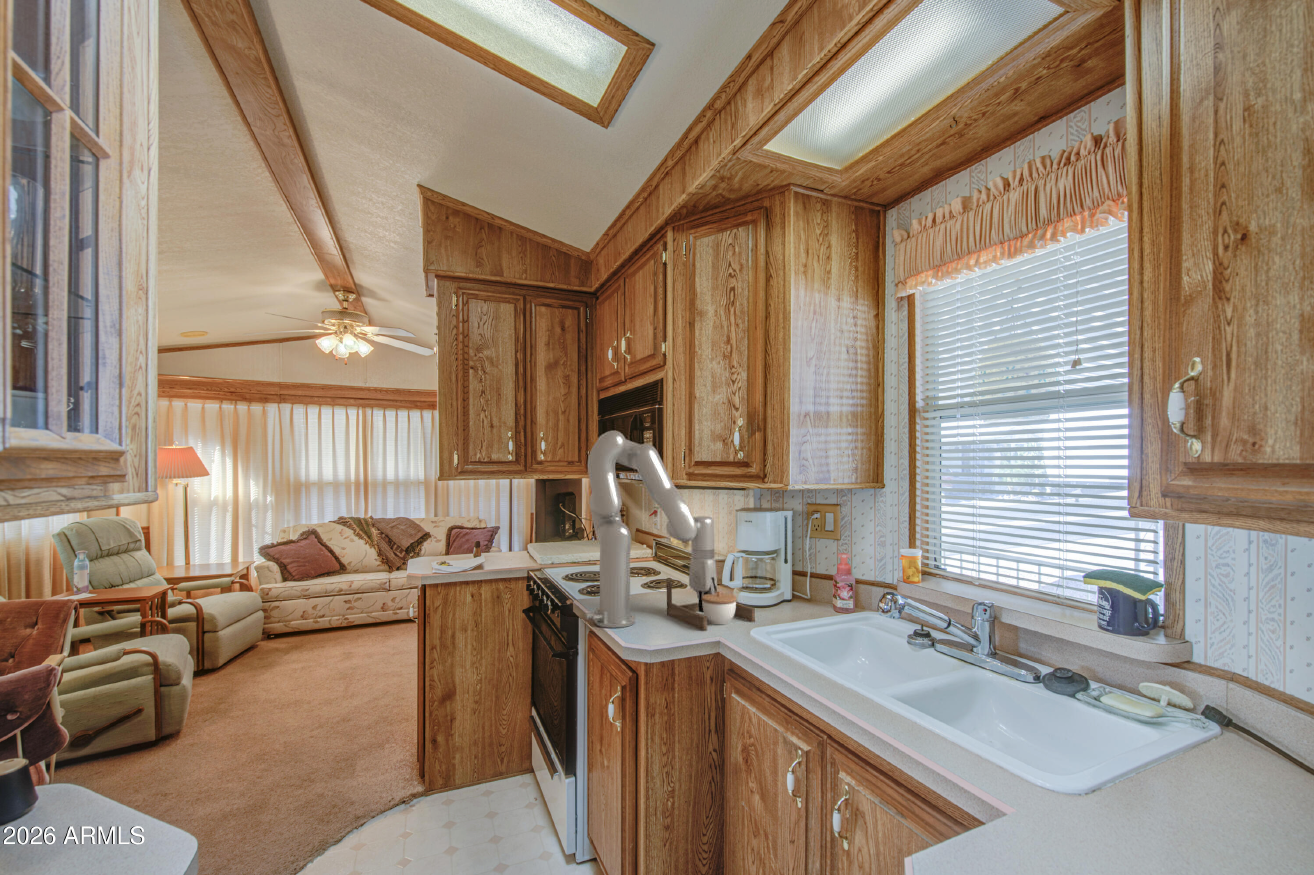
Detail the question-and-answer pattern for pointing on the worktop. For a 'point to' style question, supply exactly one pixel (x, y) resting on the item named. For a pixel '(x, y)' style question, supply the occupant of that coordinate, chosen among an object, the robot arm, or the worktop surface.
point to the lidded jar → (719, 607)
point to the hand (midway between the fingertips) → (704, 611)
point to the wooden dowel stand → (689, 610)
